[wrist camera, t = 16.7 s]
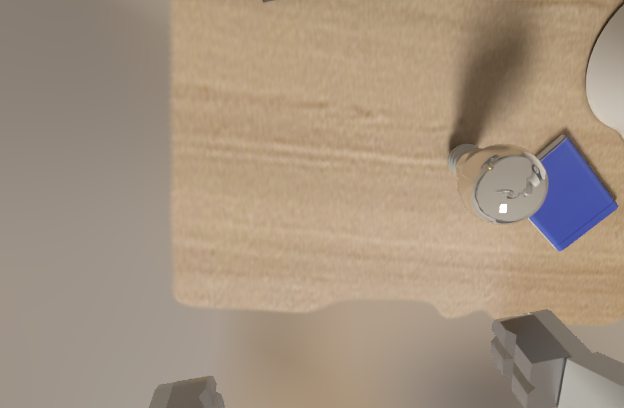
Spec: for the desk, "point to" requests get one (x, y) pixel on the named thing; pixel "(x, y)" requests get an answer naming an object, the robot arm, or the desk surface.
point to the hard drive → (570, 196)
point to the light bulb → (499, 182)
